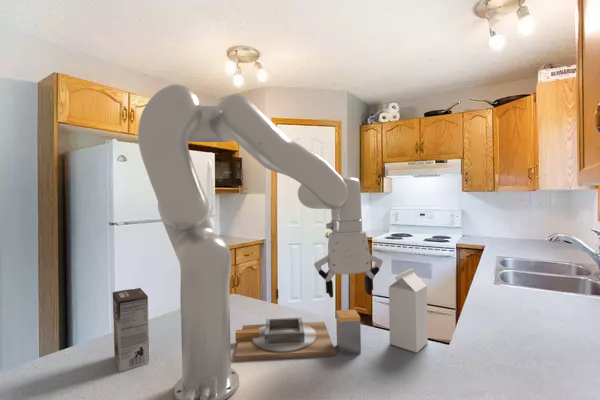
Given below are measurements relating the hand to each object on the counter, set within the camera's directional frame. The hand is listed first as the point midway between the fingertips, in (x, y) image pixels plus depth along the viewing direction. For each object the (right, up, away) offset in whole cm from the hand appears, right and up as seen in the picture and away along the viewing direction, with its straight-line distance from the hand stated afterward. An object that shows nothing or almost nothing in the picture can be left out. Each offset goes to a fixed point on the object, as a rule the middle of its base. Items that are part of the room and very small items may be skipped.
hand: (349, 294), depth 79 cm
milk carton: (+16, -14, +2) cm, 21 cm away
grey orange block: (0, -14, 0) cm, 14 cm away
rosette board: (-17, -14, +5) cm, 22 cm away
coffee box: (-53, -15, -4) cm, 55 cm away
